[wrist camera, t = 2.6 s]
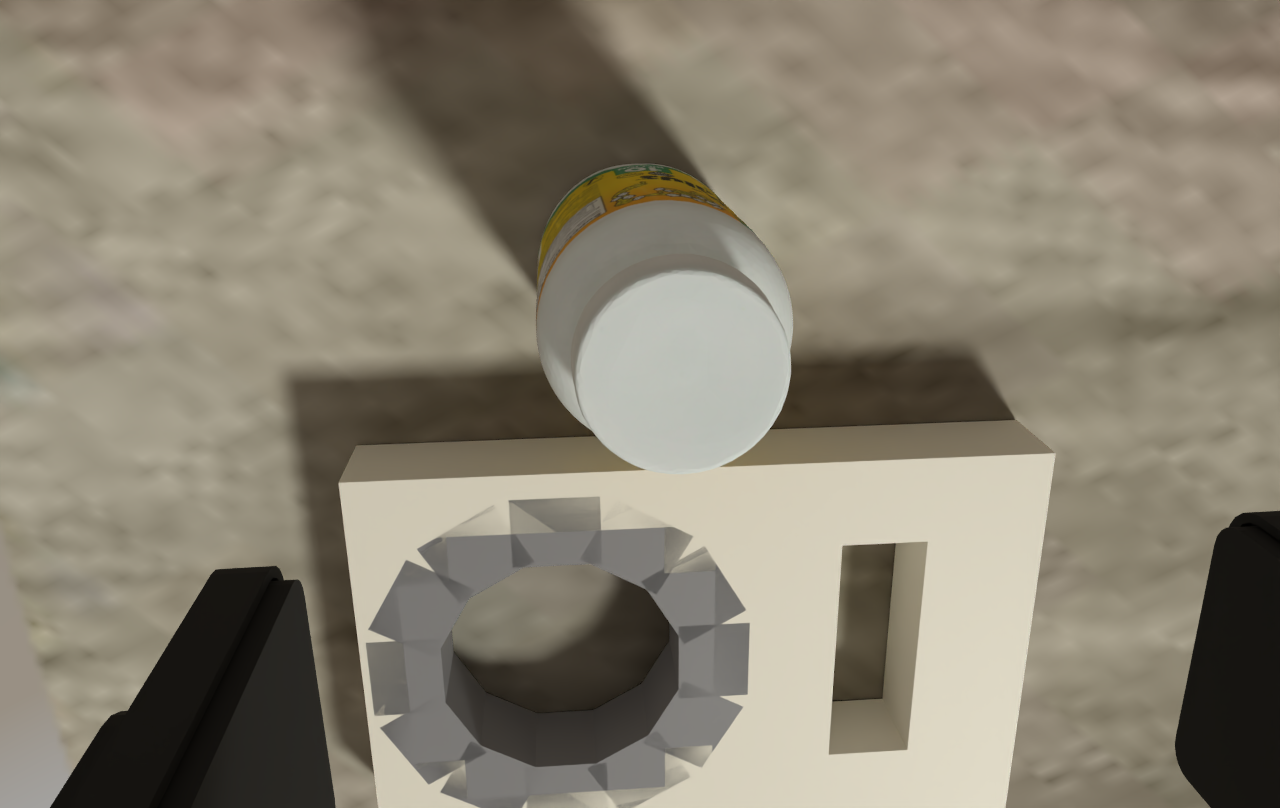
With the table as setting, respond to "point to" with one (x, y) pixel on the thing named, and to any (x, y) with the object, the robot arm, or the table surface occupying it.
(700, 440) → the supplement bottle
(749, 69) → the table surface
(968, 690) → the socket plate
